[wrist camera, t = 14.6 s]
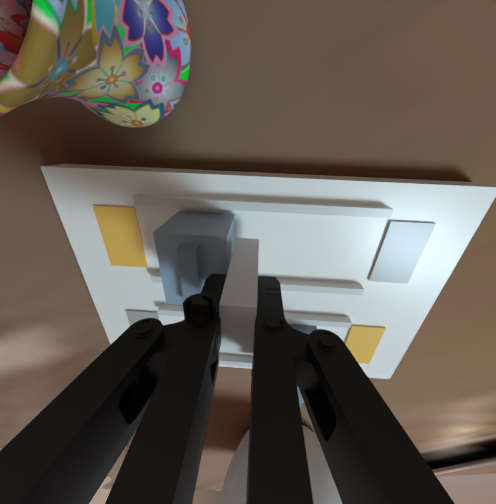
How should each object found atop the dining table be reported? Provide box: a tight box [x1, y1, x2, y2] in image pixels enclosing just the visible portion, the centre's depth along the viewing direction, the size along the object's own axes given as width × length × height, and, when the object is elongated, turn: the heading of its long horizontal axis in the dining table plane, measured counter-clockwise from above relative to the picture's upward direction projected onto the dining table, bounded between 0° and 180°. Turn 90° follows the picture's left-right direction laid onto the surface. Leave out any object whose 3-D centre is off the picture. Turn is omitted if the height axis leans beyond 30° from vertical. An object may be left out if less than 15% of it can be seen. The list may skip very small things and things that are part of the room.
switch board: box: [40, 164, 496, 379], centre depth 19 cm, size 30×20×3 cm, turn 88°
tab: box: [153, 211, 235, 305], centre depth 14 cm, size 4×5×5 cm
